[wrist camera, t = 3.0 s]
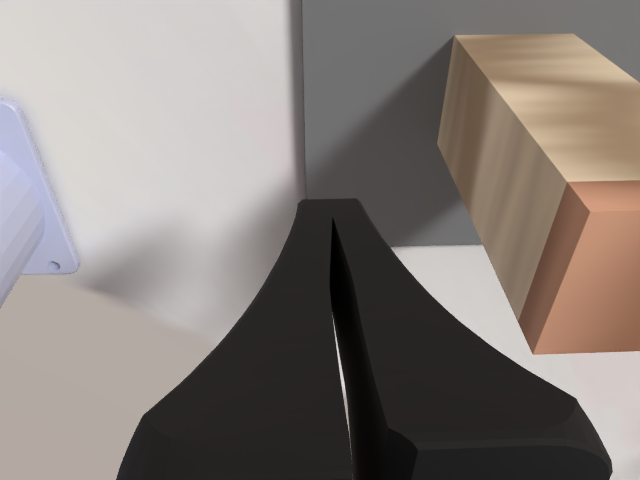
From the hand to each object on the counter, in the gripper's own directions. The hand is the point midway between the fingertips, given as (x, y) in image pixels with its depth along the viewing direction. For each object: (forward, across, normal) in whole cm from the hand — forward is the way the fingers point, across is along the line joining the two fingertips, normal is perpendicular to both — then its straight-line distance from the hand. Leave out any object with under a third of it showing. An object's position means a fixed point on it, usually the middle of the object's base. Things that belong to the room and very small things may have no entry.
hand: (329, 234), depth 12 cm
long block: (+8, -6, 0) cm, 10 cm away
